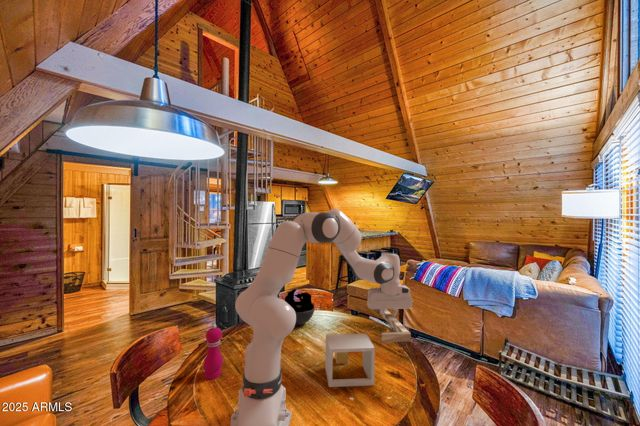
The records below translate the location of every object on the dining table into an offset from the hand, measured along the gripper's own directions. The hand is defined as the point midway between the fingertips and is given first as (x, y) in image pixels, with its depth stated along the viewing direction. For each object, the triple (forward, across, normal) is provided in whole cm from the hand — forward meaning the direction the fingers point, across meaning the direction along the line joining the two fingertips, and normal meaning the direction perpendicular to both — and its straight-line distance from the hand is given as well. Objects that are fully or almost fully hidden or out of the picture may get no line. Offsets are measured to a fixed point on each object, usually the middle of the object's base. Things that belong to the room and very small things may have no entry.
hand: (389, 318), depth 121 cm
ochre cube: (+18, -22, 0) cm, 29 cm away
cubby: (+18, -21, -12) cm, 30 cm away
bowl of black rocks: (+18, -41, +40) cm, 60 cm away
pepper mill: (+18, -75, -8) cm, 78 cm away
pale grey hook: (+1, -4, -2) cm, 5 cm away
